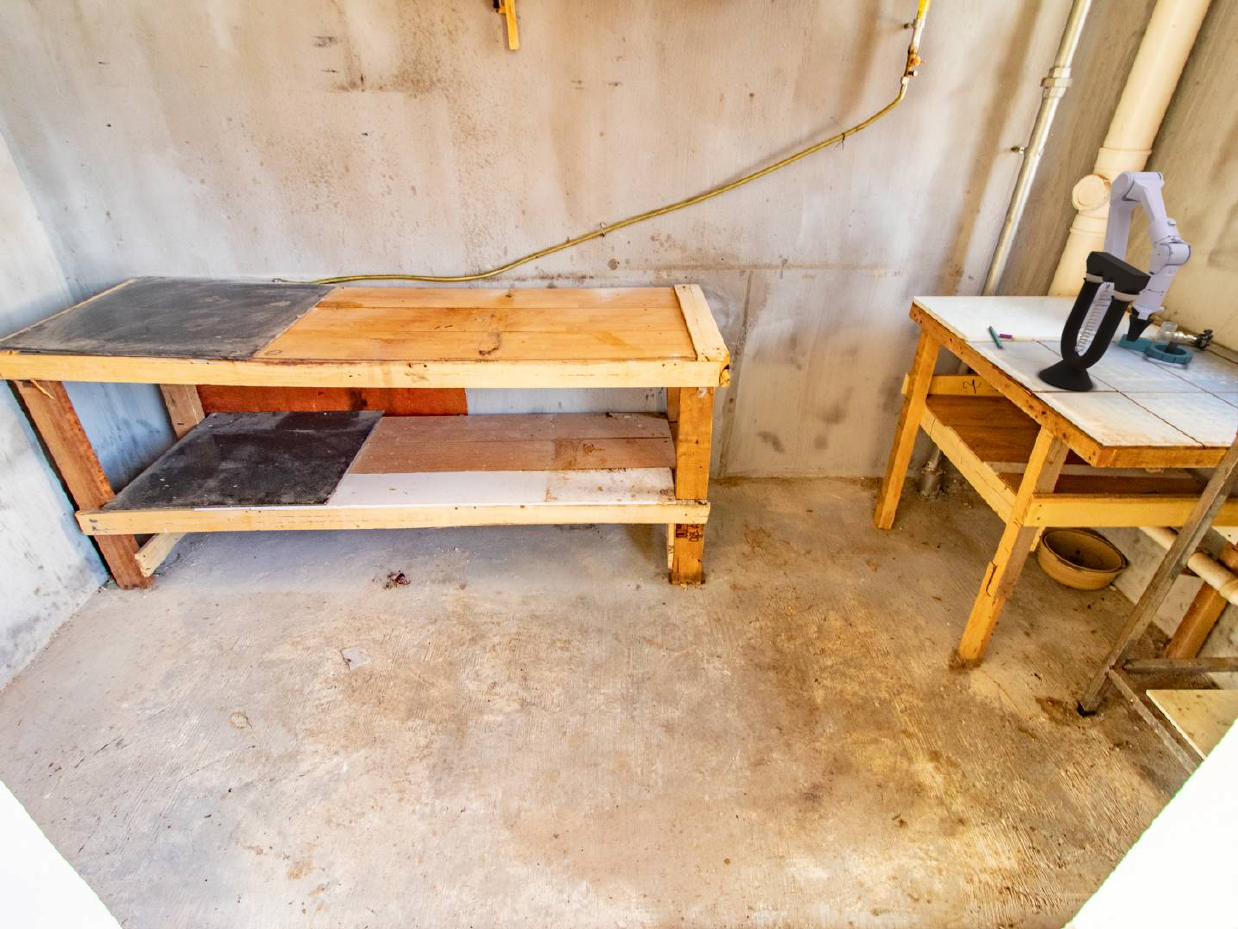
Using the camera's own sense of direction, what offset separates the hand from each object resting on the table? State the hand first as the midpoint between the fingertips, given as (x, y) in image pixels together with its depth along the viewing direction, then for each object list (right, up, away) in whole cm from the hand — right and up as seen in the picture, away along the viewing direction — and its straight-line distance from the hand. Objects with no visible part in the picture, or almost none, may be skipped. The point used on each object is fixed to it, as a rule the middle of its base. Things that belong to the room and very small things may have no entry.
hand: (1131, 336), depth 182 cm
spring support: (-28, -14, -13) cm, 34 cm away
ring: (+5, -5, -1) cm, 7 cm away
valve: (+16, -2, +5) cm, 17 cm away
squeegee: (-31, +1, +8) cm, 32 cm away
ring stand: (+8, -7, -2) cm, 10 cm away
